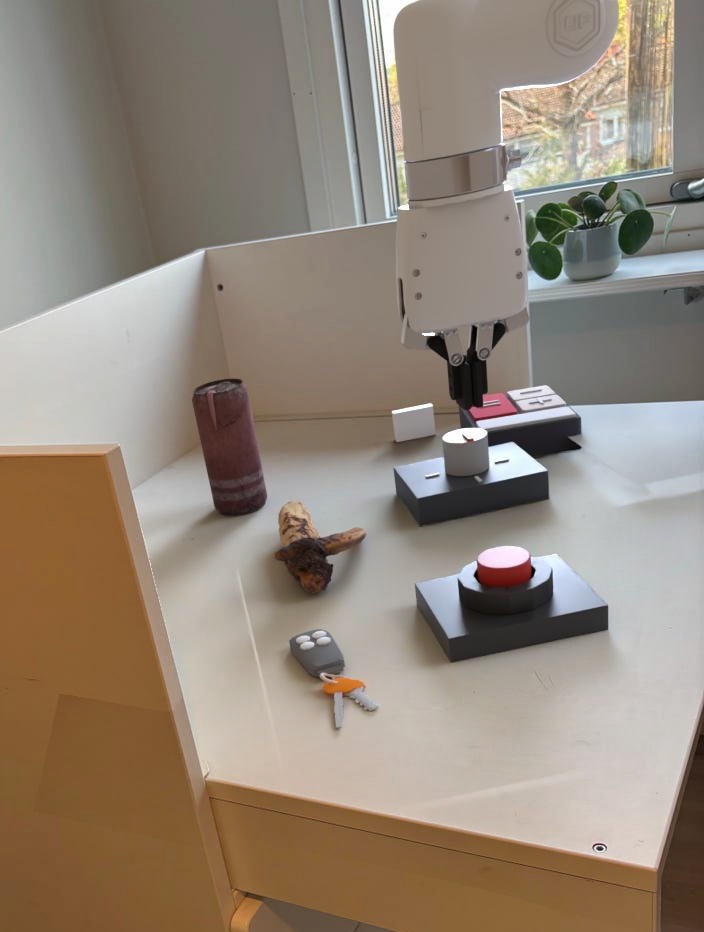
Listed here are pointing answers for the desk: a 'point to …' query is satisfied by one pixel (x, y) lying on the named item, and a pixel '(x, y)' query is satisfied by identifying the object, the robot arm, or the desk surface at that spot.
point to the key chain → (329, 669)
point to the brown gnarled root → (310, 547)
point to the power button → (504, 566)
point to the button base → (510, 609)
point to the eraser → (413, 422)
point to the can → (230, 446)
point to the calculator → (526, 420)
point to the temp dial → (466, 451)
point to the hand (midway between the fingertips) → (469, 404)
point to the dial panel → (471, 486)
